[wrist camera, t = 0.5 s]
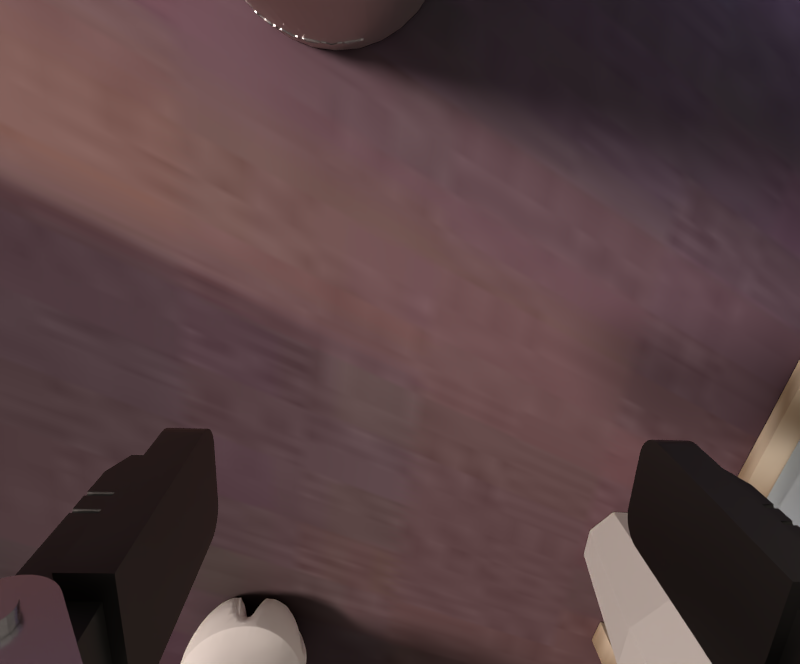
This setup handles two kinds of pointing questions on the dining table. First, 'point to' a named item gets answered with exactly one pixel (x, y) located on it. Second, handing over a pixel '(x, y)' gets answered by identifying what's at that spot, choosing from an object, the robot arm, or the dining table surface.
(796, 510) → the holder
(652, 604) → the low poly bottle
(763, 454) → the tan wooden board
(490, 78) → the dining table surface
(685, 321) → the dining table surface
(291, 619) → the water bottle
